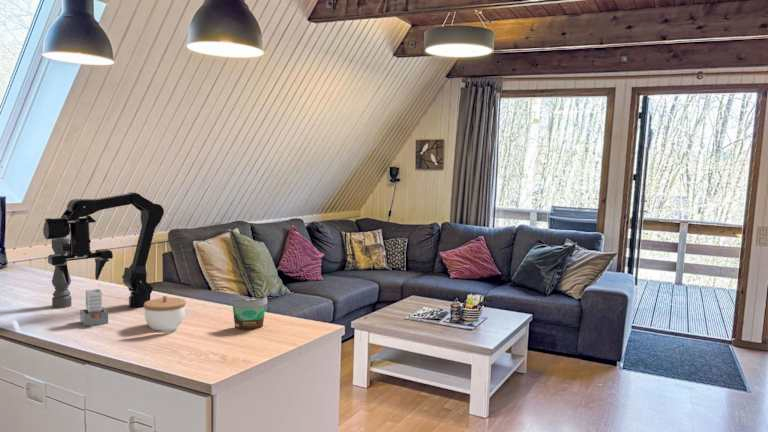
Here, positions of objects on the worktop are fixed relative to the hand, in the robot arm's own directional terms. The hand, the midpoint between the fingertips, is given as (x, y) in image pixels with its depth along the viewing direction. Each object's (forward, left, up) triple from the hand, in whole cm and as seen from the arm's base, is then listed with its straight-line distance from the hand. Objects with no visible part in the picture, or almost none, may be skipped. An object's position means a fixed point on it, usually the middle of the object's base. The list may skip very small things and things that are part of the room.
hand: (82, 281), depth 189 cm
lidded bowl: (-19, +28, -13) cm, 36 cm away
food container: (-43, +41, -13) cm, 61 cm away
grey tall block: (-1, +12, -12) cm, 17 cm away
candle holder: (+4, -21, -13) cm, 25 cm away
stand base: (-1, +12, -13) cm, 17 cm away
